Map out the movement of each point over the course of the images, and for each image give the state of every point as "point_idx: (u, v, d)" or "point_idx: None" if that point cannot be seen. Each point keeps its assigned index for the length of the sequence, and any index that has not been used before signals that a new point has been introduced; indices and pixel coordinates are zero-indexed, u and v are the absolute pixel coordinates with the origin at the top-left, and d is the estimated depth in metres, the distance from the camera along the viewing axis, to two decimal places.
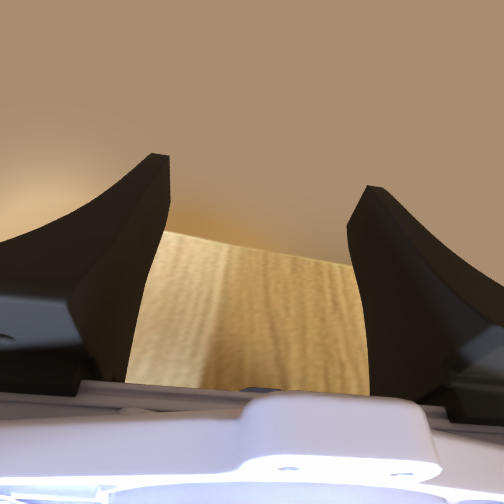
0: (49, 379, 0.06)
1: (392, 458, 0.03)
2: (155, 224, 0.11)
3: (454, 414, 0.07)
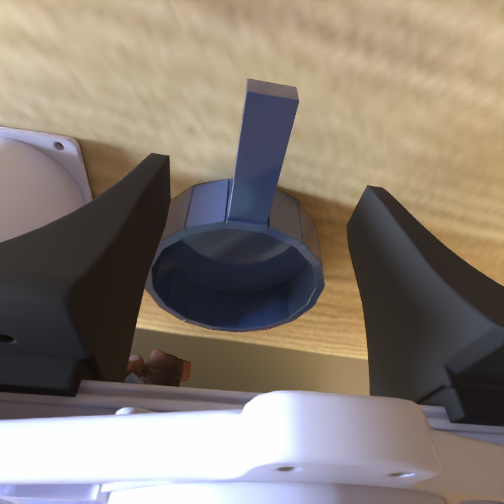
0: (49, 379, 0.06)
1: (392, 458, 0.03)
2: (155, 224, 0.11)
3: (454, 414, 0.07)
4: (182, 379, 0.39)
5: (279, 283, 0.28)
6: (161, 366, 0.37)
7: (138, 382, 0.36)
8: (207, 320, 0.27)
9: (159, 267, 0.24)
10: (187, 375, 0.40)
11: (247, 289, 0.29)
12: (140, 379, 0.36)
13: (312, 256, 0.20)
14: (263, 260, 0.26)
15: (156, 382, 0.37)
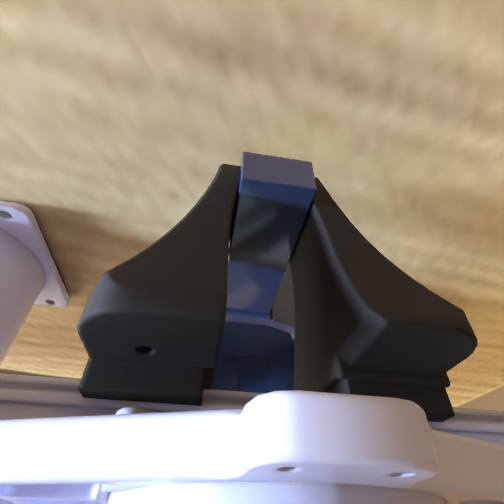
0: (182, 389, 0.06)
1: (392, 458, 0.03)
2: None
3: None
4: None
5: (283, 348, 0.24)
6: None
7: None
8: None
9: None
10: None
11: (246, 353, 0.25)
12: None
13: None
14: (264, 327, 0.22)
15: None
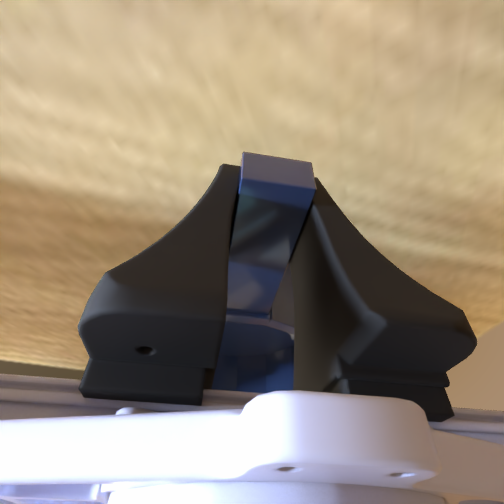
0: (182, 389, 0.06)
1: (392, 458, 0.03)
2: None
3: None
4: None
5: (282, 348, 0.24)
6: None
7: None
8: None
9: None
10: None
11: (245, 353, 0.25)
12: None
13: None
14: (264, 327, 0.22)
15: None
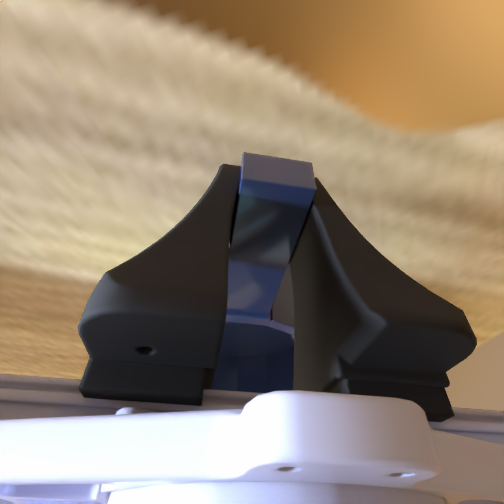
0: (182, 389, 0.06)
1: (392, 458, 0.03)
2: (230, 233, 0.11)
3: None
4: None
5: (283, 348, 0.24)
6: None
7: None
8: None
9: None
10: None
11: (246, 353, 0.25)
12: None
13: None
14: (264, 328, 0.22)
15: None
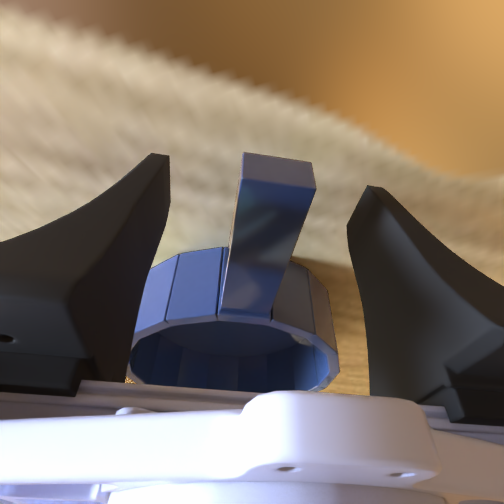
0: (49, 379, 0.06)
1: (392, 458, 0.03)
2: (155, 224, 0.11)
3: (454, 414, 0.07)
4: None
5: (283, 348, 0.24)
6: None
7: None
8: None
9: (140, 341, 0.20)
10: None
11: (246, 353, 0.25)
12: None
13: (326, 346, 0.16)
14: (265, 327, 0.22)
15: None
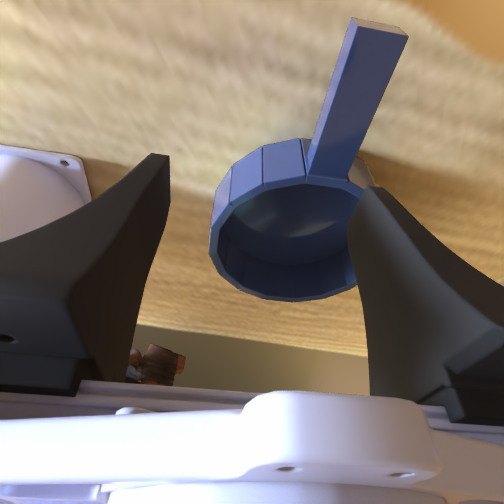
0: (49, 379, 0.06)
1: (392, 458, 0.03)
2: (155, 224, 0.11)
3: (454, 414, 0.07)
4: (177, 372, 0.42)
5: (332, 254, 0.28)
6: (157, 359, 0.40)
7: (136, 374, 0.39)
8: (262, 289, 0.26)
9: (219, 233, 0.24)
10: (181, 368, 0.43)
11: (298, 260, 0.29)
12: (138, 371, 0.39)
13: None
14: (320, 228, 0.26)
15: (152, 373, 0.40)
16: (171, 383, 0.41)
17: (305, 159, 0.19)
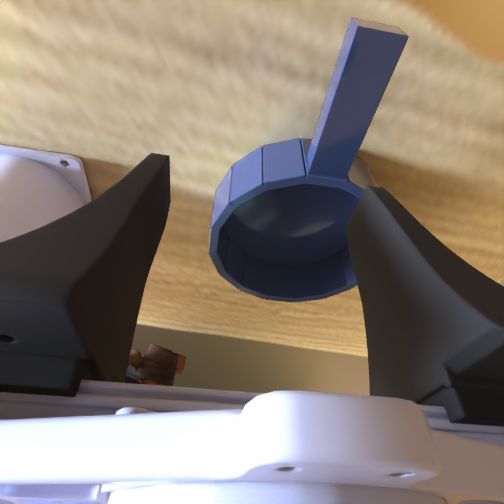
0: (49, 379, 0.06)
1: (392, 458, 0.03)
2: (155, 224, 0.11)
3: (454, 414, 0.07)
4: (177, 372, 0.42)
5: (332, 254, 0.28)
6: (157, 359, 0.40)
7: (136, 374, 0.39)
8: (262, 289, 0.26)
9: (219, 233, 0.24)
10: (181, 368, 0.43)
11: (298, 260, 0.29)
12: (138, 371, 0.39)
13: None
14: (320, 228, 0.26)
15: (153, 373, 0.40)
16: (171, 383, 0.41)
17: (305, 159, 0.19)
